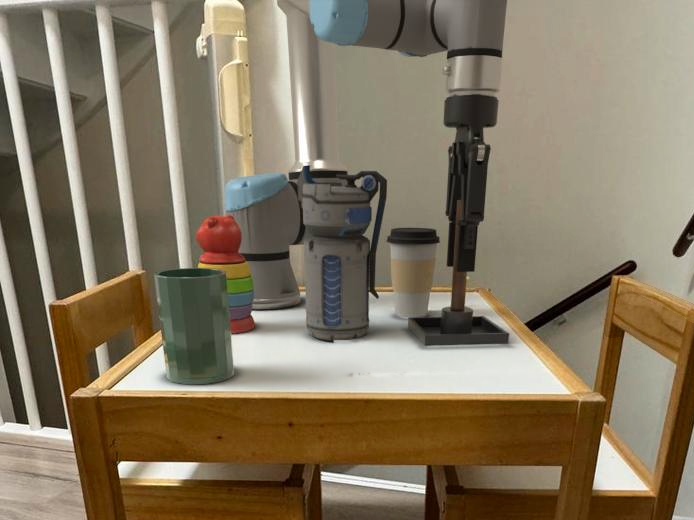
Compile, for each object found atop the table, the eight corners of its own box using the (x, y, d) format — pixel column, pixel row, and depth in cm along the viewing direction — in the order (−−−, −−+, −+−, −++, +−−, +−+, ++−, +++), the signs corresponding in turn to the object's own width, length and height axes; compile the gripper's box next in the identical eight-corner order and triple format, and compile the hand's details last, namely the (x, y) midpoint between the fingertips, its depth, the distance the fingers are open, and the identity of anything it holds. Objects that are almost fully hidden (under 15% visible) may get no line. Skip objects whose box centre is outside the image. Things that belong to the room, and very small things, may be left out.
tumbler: (171, 367, 91) (159, 268, 86) (235, 365, 92) (227, 267, 87) (163, 385, 83) (149, 278, 78) (232, 383, 85) (224, 277, 79)
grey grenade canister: (379, 345, 103) (383, 166, 92) (296, 341, 105) (289, 165, 94) (386, 330, 112) (390, 165, 101) (309, 327, 114) (305, 165, 103)
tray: (407, 329, 113) (408, 317, 112) (482, 327, 115) (483, 315, 114) (424, 348, 101) (425, 335, 100) (508, 346, 103) (509, 333, 102)
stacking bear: (225, 318, 120) (216, 211, 112) (270, 325, 115) (264, 214, 107) (181, 330, 111) (169, 215, 103) (228, 337, 107) (218, 218, 99)
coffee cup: (443, 320, 119) (448, 231, 113) (392, 322, 117) (395, 232, 111) (426, 310, 128) (430, 226, 121) (379, 312, 126) (380, 227, 119)
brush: (436, 331, 110) (444, 199, 101) (466, 330, 110) (476, 199, 102) (444, 338, 105) (452, 200, 96) (475, 337, 106) (486, 201, 97)
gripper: (431, 100, 101) (423, 261, 111) (462, 88, 85) (451, 278, 95) (479, 101, 102) (467, 260, 112) (519, 89, 86) (502, 277, 96)
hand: (460, 268), depth 103 cm, fingers open, 5 cm apart
